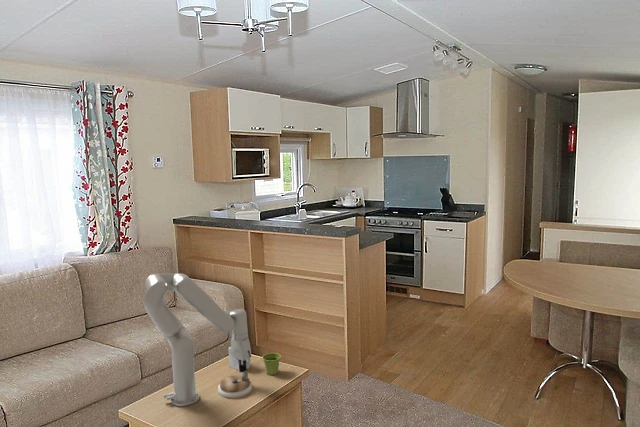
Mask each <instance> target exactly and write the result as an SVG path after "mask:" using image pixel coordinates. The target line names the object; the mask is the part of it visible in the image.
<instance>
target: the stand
mask: <svg viewBox="0 0 640 427" xmlns="http://www.w3.org/2000/svg"><path fill="white" fill-rule="evenodd" d="M252 390H253V383H252V381H251V380H250V385H249V387H248V388H246V389H244V390H242V391H239V392H225V391H223V390H221V388H220V383H219V384H218V386H217V392H218V395H220V396H221V397H223V398H226V399H235V398H237V399H238V398H242V397H244V396H247V395H249V394H250V392H252Z"/></svg>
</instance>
